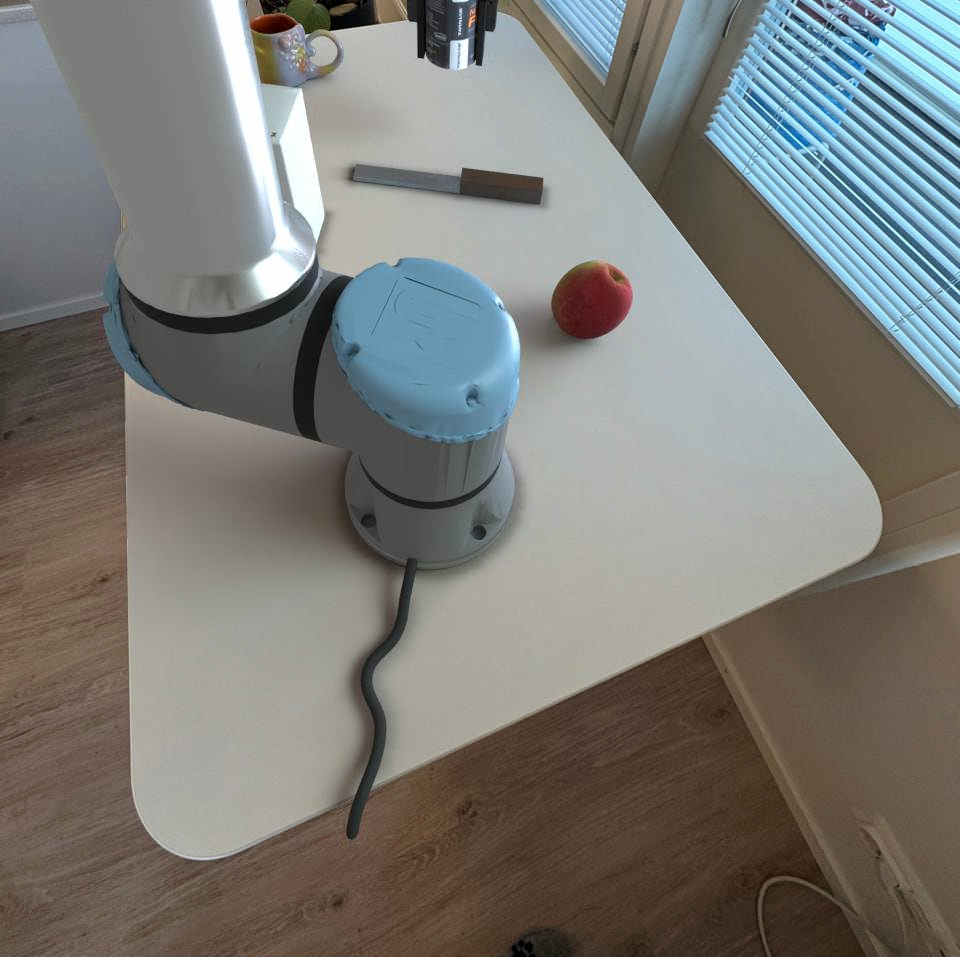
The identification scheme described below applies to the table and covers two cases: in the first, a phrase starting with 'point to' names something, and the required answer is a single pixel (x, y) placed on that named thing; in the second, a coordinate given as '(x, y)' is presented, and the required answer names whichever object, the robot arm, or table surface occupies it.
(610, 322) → the apple
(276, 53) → the mug
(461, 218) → the table surface
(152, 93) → the robot arm
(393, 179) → the wooden handled blade
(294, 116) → the rectangular carton
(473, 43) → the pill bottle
